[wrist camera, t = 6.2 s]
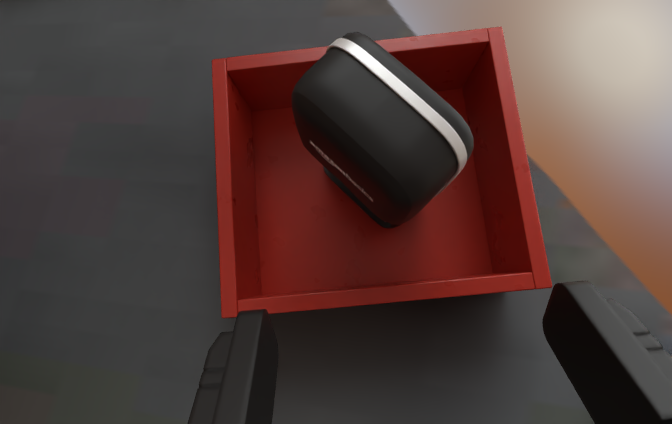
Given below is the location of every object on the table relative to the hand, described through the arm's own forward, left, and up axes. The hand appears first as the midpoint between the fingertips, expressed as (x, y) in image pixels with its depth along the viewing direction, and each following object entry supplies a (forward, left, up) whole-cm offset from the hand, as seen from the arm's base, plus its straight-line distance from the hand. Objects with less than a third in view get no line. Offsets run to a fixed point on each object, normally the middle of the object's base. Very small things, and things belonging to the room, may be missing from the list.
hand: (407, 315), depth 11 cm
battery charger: (0, +7, -12) cm, 14 cm away
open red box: (0, +7, -12) cm, 14 cm away
